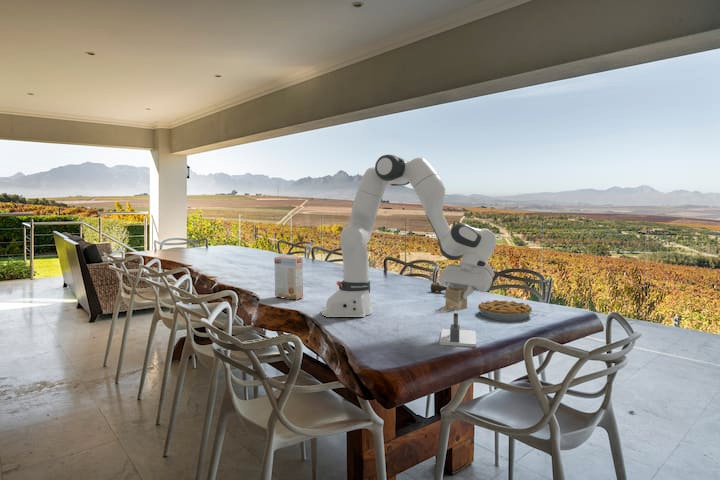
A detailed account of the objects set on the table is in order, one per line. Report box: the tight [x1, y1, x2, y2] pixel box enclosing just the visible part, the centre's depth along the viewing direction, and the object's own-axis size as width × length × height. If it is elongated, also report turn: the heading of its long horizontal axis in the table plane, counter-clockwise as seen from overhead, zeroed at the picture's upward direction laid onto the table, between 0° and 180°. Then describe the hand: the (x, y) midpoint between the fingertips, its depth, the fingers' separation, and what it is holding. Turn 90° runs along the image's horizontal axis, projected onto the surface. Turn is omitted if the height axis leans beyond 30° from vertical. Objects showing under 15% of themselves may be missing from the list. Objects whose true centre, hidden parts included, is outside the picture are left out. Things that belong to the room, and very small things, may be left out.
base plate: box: [439, 328, 477, 348], centre depth 160 cm, size 16×12×1 cm
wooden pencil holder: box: [440, 287, 468, 313], centre depth 162 cm, size 10×5×7 cm, turn 132°
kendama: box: [430, 282, 447, 293], centre depth 239 cm, size 6×10×20 cm
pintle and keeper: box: [450, 312, 461, 342], centre depth 159 cm, size 12×3×8 cm, turn 167°
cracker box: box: [274, 255, 304, 300], centre depth 229 cm, size 14×6×21 cm, turn 58°
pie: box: [477, 299, 533, 322], centre depth 193 cm, size 22×22×5 cm
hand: (455, 296), depth 163 cm, fingers closed on wooden pencil holder, 5 cm apart
